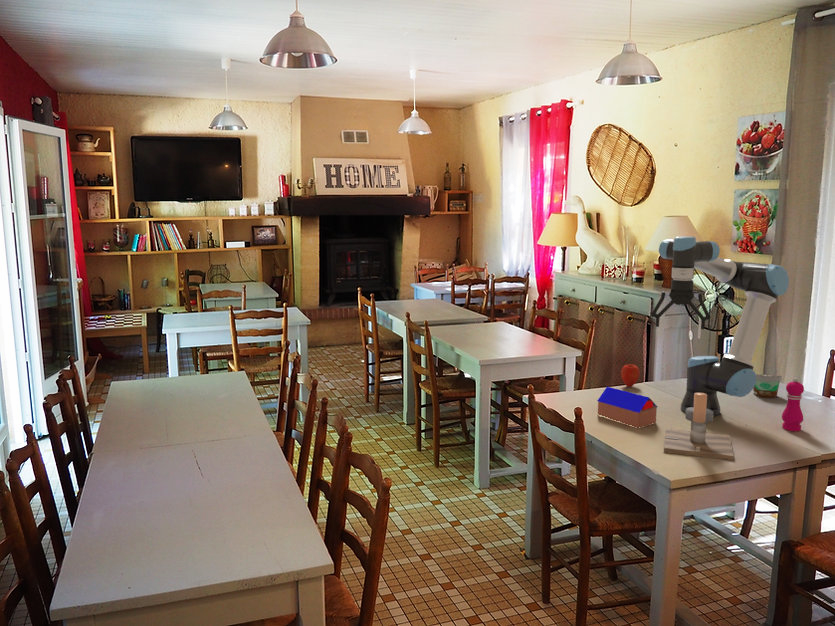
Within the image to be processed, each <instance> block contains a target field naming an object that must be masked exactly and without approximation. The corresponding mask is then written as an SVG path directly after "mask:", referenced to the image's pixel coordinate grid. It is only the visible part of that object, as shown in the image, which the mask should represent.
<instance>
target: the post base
mask: <svg viewBox="0 0 835 626" xmlns="http://www.w3.org/2000/svg"><path fill="white" fill-rule="evenodd" d="M690 422H691V423H690V430H685V429H684V430H683V429H681V430H680V429H673V428H665V431H664V444H663V452H664V453H667V452H668V453H667V454H669V453H670V454H677V455H685V456H692V457H693V456H695V457H700V458H701V457H702V458H703V457H704V458H712V459H718V460H719V459H721V460H729V461H734V459H735V457H734V451H733V447H732V442H731V437H730V435H729V434H723V433H722V434H719V433H711V432H707V423H703V426H695V422H692V421H690Z"/></svg>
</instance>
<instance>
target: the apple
mask: <svg viewBox="0 0 835 626" xmlns="http://www.w3.org/2000/svg"><path fill="white" fill-rule="evenodd" d="M620 376H621V380H622V381H623V383H624V385H625V386H626V387H627V386H628V387H627V388H631V387H633V386H634V385H635V384H636V383H637V381H638V379H639V378H640V369H639V367H638V366H637V365H636V364H632V363H631V364H630V363H629V364H628V363H627V364H625V365H624V366H623V367H622V368H621V370H620Z"/></svg>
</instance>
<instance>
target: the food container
mask: <svg viewBox="0 0 835 626" xmlns="http://www.w3.org/2000/svg"><path fill="white" fill-rule="evenodd" d="M755 378H756V384H755V386H754V388H753V390H752V391H753V395H754V396H755V395H756V397H758V396H759V397H758V398H763V397H764V398H765V399H775V398H777V397H778V392H779V386H780V382H781V381H782V380H783V378H782V374H781V373H780V374H779V375H771V374H757V373H756V377H755Z"/></svg>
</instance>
